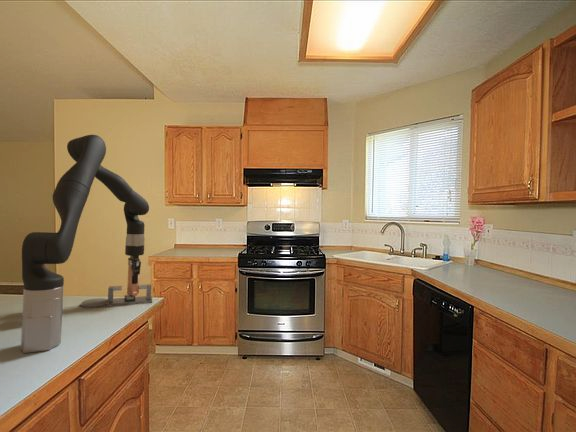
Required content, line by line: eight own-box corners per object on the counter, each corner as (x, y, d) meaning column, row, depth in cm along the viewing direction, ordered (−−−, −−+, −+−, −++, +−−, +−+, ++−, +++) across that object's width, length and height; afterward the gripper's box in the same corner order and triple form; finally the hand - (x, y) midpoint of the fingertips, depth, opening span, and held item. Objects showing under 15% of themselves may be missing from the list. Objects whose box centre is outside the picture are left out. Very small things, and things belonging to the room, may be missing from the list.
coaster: (108, 306, 129) (108, 303, 129) (79, 308, 125) (79, 305, 125) (110, 300, 138) (110, 297, 138) (83, 302, 134) (83, 299, 134)
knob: (129, 296, 132) (130, 267, 132) (125, 291, 139) (126, 264, 139) (141, 295, 135) (142, 266, 135) (136, 290, 142) (137, 263, 142)
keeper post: (152, 302, 137) (152, 287, 137) (105, 306, 130) (106, 289, 130) (151, 298, 145) (152, 283, 145) (107, 301, 137) (108, 285, 137)
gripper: (122, 242, 140) (120, 280, 140) (129, 246, 129) (127, 286, 129) (140, 242, 145) (138, 278, 145) (148, 245, 134) (146, 285, 134)
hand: (133, 282), depth 137 cm, fingers closed on knob, 4 cm apart
